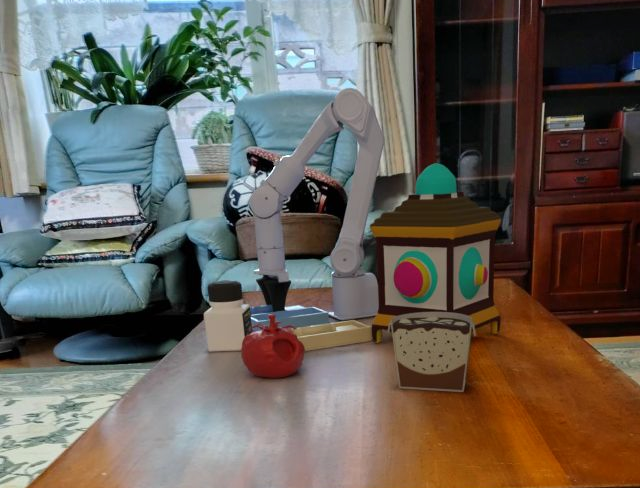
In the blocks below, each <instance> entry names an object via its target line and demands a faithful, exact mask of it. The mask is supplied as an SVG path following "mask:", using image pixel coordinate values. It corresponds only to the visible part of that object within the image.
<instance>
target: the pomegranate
mask: <svg viewBox="0 0 640 488" xmlns="http://www.w3.org/2000/svg"><path fill="white" fill-rule="evenodd" d="M268 317H269V319H270V325H269V327H268V326H265V325H262V324H255V326H253V327H252V328H250V329H253V328H255V327H259V328H260V329H262V330H260V331H256V332H253V331H252V333H251V334H249V335H247V336H246V337H245V338H244V339H243V342H242V348H241V351H240V354H241V359H242V362H243V365H244V366H245V367H246V369H247V371H248V372H249V373H251V374H252V375H255V376H257V377H261V378H271V379H274V378H275V379H276V378H277V379H279V378H286V377H289V376H292V375H294V374H295V373H296V372H298V371H299V370H300V369H301V367H302V365H303V361H304V359H305V354H306V351H305V348H304V345H303V344H302V342H300V341H299V340H298V338H297V335H295V334H294V333H293V332H292V331H291V330H290V329H288V328H289V327H292V328H293V329H297V328H295V327H293V326H292V325H288V326H286V327H281V328H278V324H279V323H281V321H280V322H278V321H277V322H276V323H275V318H276V316H275V314H270V315H269V316H268ZM259 325H261V326H263V327H264V328H262V327H260V326H259ZM250 329H249V330H250Z"/></svg>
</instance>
